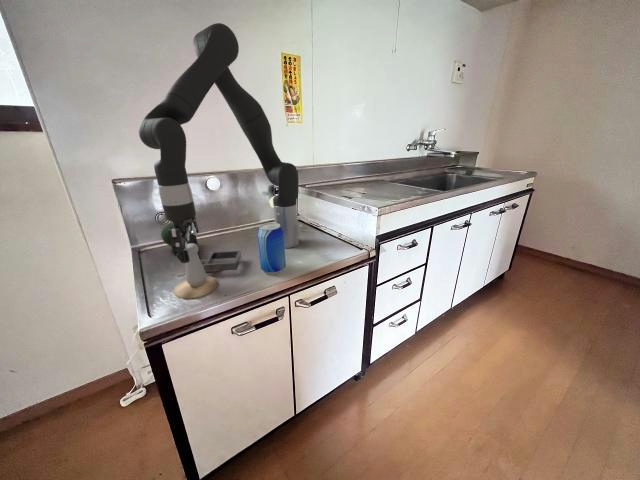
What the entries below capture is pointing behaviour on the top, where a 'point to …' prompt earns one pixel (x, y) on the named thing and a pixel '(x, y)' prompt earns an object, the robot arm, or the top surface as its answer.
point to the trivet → (195, 288)
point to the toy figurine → (167, 239)
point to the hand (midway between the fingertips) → (190, 255)
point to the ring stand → (221, 266)
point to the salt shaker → (194, 267)
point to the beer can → (271, 248)
